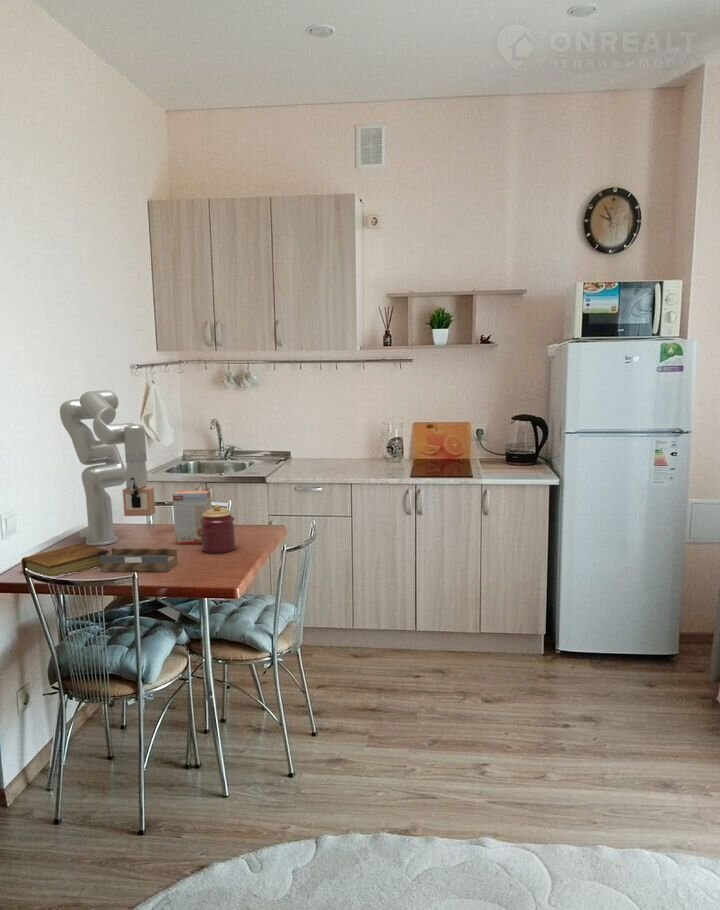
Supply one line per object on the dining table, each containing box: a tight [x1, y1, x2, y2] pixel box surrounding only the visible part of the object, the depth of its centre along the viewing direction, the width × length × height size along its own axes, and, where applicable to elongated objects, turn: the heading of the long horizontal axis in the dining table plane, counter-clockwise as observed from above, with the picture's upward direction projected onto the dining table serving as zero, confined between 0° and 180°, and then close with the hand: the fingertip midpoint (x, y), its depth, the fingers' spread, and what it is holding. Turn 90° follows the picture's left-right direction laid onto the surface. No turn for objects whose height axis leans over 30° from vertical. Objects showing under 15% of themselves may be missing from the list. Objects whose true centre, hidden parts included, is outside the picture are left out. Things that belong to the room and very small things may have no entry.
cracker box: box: [172, 490, 212, 545], centre depth 290 cm, size 14×6×21 cm, turn 84°
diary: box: [21, 542, 110, 576], centre depth 260 cm, size 23×19×6 cm
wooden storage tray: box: [100, 547, 178, 573], centre depth 258 cm, size 24×11×6 cm, turn 85°
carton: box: [122, 486, 156, 517], centre depth 271 cm, size 5×10×10 cm, turn 87°
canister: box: [200, 504, 237, 554], centre depth 279 cm, size 13×13×18 cm
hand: (139, 505), depth 271 cm, fingers closed on carton, 5 cm apart
